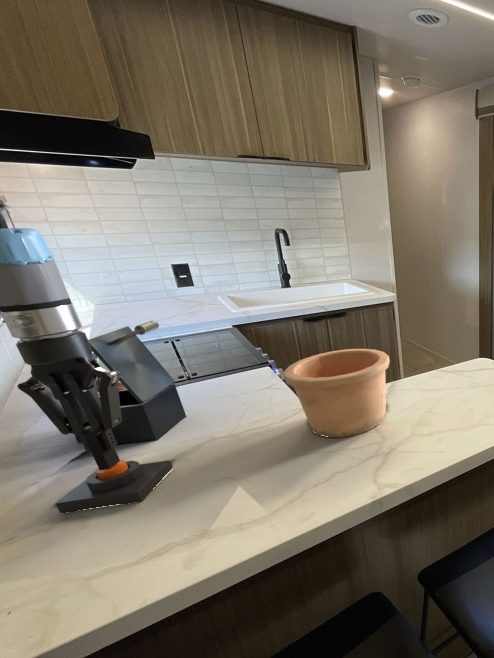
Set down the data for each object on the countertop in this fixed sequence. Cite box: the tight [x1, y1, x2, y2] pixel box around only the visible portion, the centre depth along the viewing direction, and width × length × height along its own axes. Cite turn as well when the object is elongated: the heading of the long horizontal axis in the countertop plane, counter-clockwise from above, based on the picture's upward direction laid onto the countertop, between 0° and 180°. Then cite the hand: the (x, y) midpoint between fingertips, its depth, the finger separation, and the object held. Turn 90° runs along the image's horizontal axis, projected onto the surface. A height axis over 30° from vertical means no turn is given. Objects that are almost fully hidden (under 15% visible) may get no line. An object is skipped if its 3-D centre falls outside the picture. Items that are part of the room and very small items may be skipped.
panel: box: [54, 460, 174, 514], centre depth 71 cm, size 12×10×4 cm
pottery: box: [283, 348, 390, 438], centre depth 91 cm, size 22×22×14 cm
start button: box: [94, 459, 129, 480], centre depth 71 cm, size 4×4×2 cm
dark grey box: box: [73, 383, 187, 447], centre depth 92 cm, size 15×13×9 cm
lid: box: [88, 320, 176, 404], centre depth 89 cm, size 15×13×9 cm
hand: (110, 465), depth 70 cm, fingers closed
